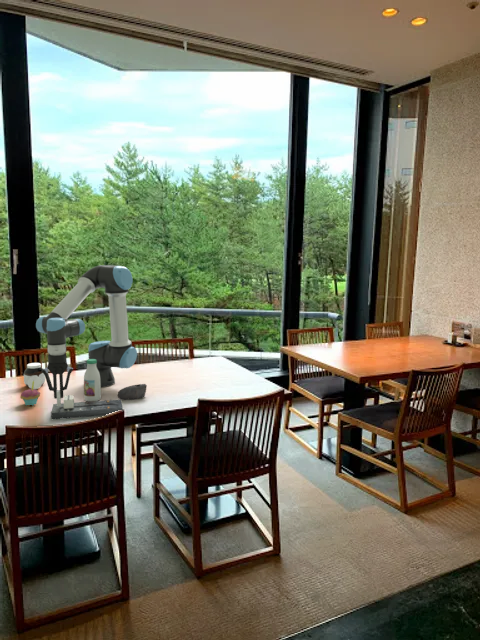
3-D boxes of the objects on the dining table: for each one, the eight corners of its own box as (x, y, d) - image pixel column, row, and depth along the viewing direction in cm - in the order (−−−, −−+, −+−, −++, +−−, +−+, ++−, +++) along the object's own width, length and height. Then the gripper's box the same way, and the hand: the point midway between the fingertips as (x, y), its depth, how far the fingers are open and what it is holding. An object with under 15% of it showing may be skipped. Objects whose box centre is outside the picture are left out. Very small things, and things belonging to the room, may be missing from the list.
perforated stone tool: (118, 402, 232) (118, 388, 231) (116, 399, 237) (116, 385, 236) (148, 398, 239) (148, 385, 237) (146, 395, 243) (146, 382, 242)
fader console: (53, 410, 219) (53, 403, 218) (121, 405, 227) (121, 399, 227) (51, 419, 207) (51, 412, 207) (122, 414, 216) (122, 407, 216)
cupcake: (43, 401, 230) (42, 377, 229) (36, 407, 222) (35, 382, 220) (25, 401, 230) (23, 377, 228) (17, 407, 222) (16, 382, 220)
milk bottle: (94, 395, 240) (93, 357, 237) (104, 399, 236) (103, 359, 232) (81, 399, 234) (80, 359, 231) (90, 403, 230) (89, 362, 227)
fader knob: (64, 404, 217) (64, 395, 216) (73, 403, 218) (73, 394, 217) (63, 408, 211) (63, 399, 211) (73, 408, 212) (73, 398, 212)
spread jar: (38, 382, 261) (37, 361, 259) (52, 385, 255) (51, 364, 254) (18, 387, 251) (17, 365, 249) (32, 391, 245) (31, 369, 243)
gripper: (40, 356, 204) (42, 408, 208) (72, 354, 208) (74, 406, 212) (42, 352, 211) (44, 403, 215) (73, 350, 215) (74, 401, 219)
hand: (59, 404), depth 213 cm, fingers closed
